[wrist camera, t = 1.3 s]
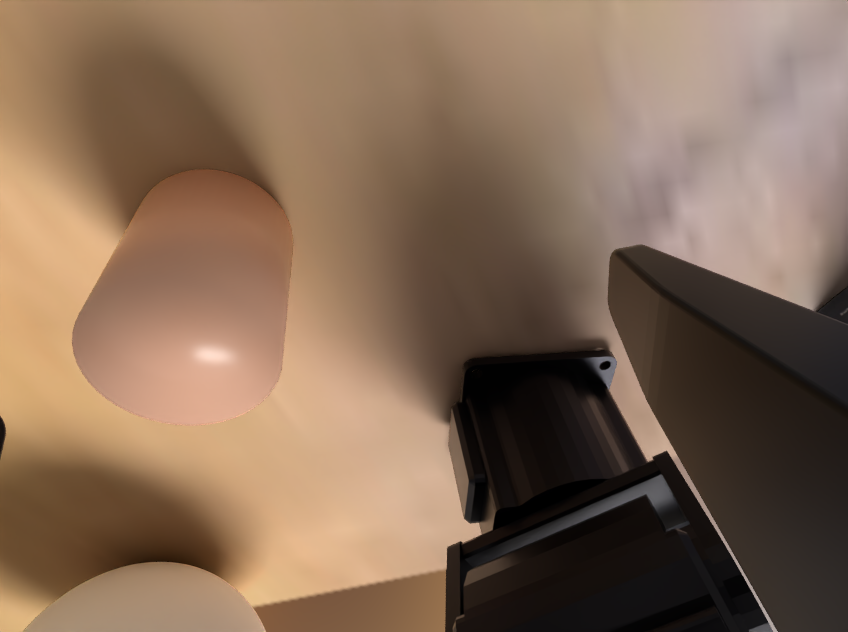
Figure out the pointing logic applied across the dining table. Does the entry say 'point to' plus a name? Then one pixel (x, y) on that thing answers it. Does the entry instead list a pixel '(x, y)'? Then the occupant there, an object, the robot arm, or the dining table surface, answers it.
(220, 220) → the peach rounded cylinder
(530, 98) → the dining table surface
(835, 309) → the small box
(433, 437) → the dining table surface
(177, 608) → the decorative ball
